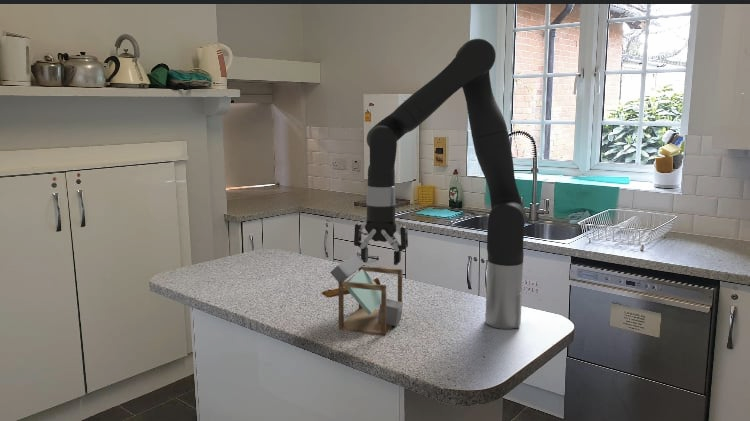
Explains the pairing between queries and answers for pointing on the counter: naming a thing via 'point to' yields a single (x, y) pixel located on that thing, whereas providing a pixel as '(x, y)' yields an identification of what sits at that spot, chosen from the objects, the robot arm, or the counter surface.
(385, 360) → the counter surface
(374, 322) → the wooden box frame
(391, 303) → the stone
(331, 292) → the primitive tool
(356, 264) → the trapdoor
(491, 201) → the robot arm
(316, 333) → the counter surface
